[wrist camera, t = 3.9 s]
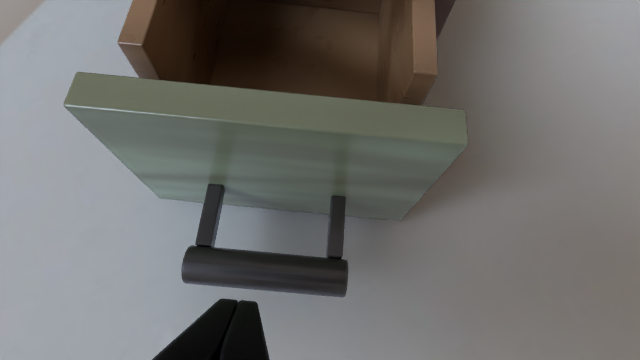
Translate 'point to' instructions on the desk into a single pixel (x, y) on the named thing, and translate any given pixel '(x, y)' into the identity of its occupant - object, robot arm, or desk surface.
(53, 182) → the desk surface
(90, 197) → the desk surface
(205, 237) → the drawer
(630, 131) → the desk surface
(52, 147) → the desk surface
